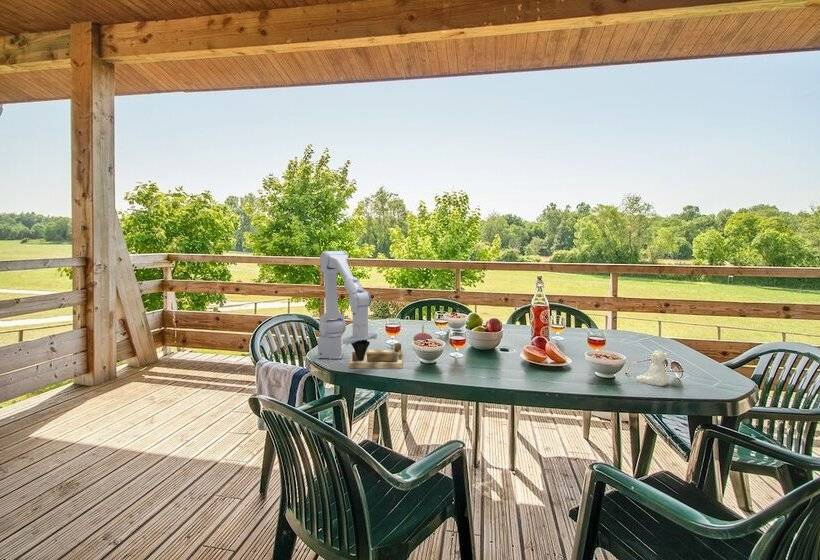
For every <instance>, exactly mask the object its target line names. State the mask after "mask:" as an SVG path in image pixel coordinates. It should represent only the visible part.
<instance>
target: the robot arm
mask: <svg viewBox="0 0 820 560" xmlns="http://www.w3.org/2000/svg"><path fill="white" fill-rule="evenodd" d="M319 262H320V272H322V273H323V281H324V282H323V283H324V297H325V300H324V301H325V313H323V314H322V315H321V316H320V317H319V325H318V330H319V334H321V335H319V336H318V339H317V359H319V358H329V359H328V360H336V359H337V360H340V359H342V357H343V356H344V352H342V345H346V346H347V345H349V344H350V345H351V346H352V348H353V350H354V352H355V353H356V356H357V360H358V361H363V360H364V356H365V353H366V350H368V347H369V346H370V344H371V343H370V341H369V340H373V339H374V340H376V339H377V338H378V334H377V333H375V332H371V333H369V307H370V306H371V304H372V296H371V294H370V292H369V291H367V290H366V289H364V288H363V286H362V285H361V283H360V281H359V279H358V278H357V277H356V276H353V275H354V274H353V273H352V271H351V268H350V265H349V254H348V252H347V251H346V250H323V251H322V252H321V254H320V256H319ZM338 273H339V274H340V276H341V277H342V279H343V280H344V282H343V286H344V288H345V291H346V293H347V295H348V297H349V300H348V301H349V305H350V311H351V313H352V335H350V336H347V337H345V338H342V336H344V333H345V332H346V329H347V324H346V321H345V316H344V315H343V314H342V313H340V311H339V301H338V300H339V297H338V296H339V295H338V282H337V280H338V279H337V274H338Z"/></svg>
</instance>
